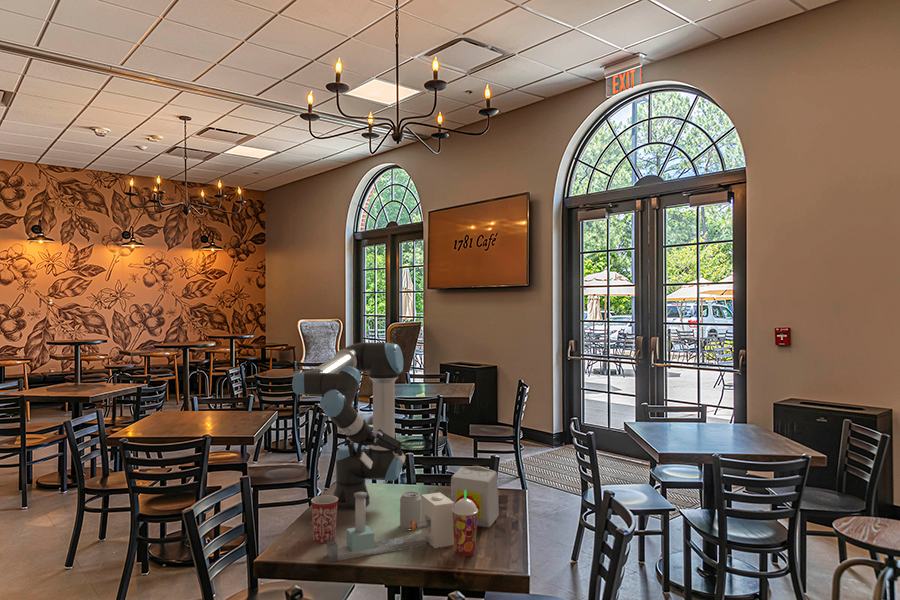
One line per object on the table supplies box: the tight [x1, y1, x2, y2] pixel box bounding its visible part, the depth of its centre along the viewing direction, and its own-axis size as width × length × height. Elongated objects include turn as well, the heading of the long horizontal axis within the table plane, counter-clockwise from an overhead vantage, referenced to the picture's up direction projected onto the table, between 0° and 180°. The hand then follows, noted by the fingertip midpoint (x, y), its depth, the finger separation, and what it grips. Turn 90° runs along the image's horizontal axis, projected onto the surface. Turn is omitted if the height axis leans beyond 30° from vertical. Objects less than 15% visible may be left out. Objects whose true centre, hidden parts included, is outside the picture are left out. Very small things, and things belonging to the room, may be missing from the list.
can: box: [399, 491, 421, 530], centre depth 214 cm, size 8×8×12 cm
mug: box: [310, 494, 338, 544], centre depth 204 cm, size 13×9×14 cm
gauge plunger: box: [410, 520, 431, 533], centre depth 200 cm, size 4×9×4 cm, turn 115°
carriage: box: [346, 492, 375, 552], centre depth 191 cm, size 7×7×17 cm
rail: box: [326, 533, 428, 563], centre depth 193 cm, size 6×32×5 cm, turn 115°
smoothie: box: [452, 490, 478, 557], centre depth 192 cm, size 8×8×20 cm
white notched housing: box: [420, 491, 455, 549], centre depth 202 cm, size 12×7×15 cm, turn 25°
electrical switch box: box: [450, 465, 500, 528], centre depth 217 cm, size 15×15×20 cm
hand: (387, 462), depth 207 cm, fingers open, 13 cm apart
